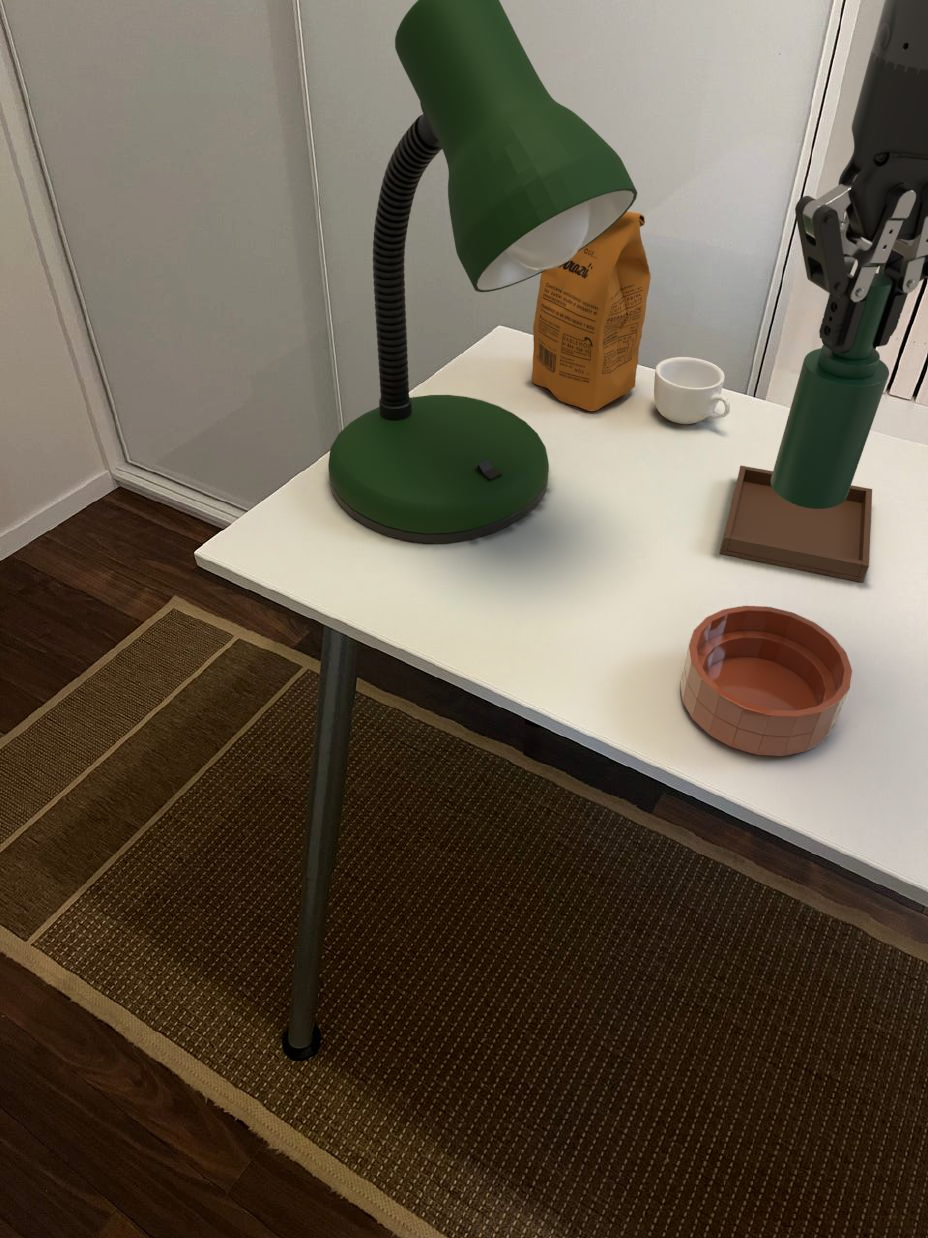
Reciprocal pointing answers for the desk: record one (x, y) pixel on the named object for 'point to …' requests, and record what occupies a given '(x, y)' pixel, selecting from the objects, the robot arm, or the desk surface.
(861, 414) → the bottle
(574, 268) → the coffee package
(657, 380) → the teacup
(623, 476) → the desk surface
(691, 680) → the bowl
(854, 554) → the tray
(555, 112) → the desk lamp
